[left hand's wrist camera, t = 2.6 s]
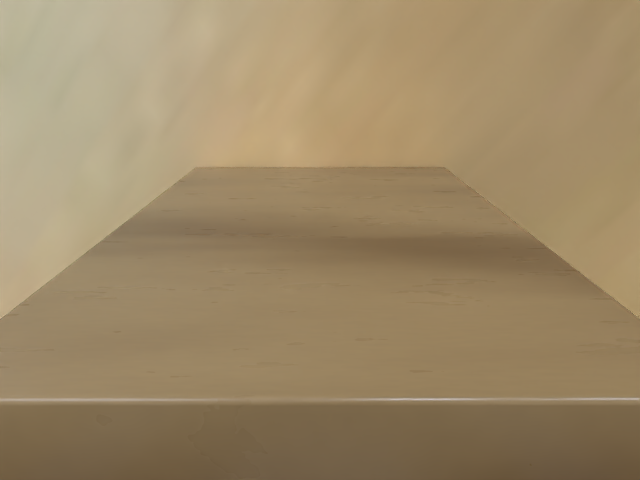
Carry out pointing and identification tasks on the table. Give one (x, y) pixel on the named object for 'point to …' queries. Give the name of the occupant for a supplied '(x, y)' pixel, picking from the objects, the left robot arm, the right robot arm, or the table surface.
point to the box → (320, 342)
